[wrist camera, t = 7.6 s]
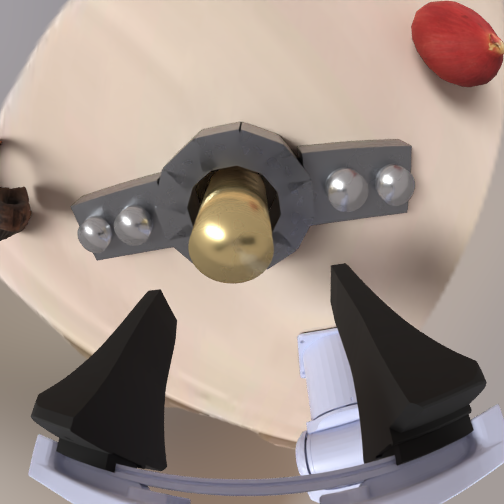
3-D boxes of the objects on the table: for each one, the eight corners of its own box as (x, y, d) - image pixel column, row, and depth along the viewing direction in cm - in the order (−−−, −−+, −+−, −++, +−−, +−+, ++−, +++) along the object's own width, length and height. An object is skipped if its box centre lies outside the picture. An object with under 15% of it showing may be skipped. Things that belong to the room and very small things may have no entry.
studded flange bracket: (394, 225, 20) (410, 246, 18) (115, 267, 22) (103, 290, 20) (397, 109, 15) (421, 116, 12) (72, 171, 17) (50, 187, 14)
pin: (267, 215, 20) (275, 280, 14) (212, 220, 20) (198, 285, 14) (263, 162, 17) (271, 208, 12) (202, 168, 17) (179, 218, 12)
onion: (436, 7, 9) (511, -1, 3) (461, 74, 12) (539, 93, 6) (377, 12, 11) (450, -11, 4) (408, 87, 14) (489, 106, 7)
